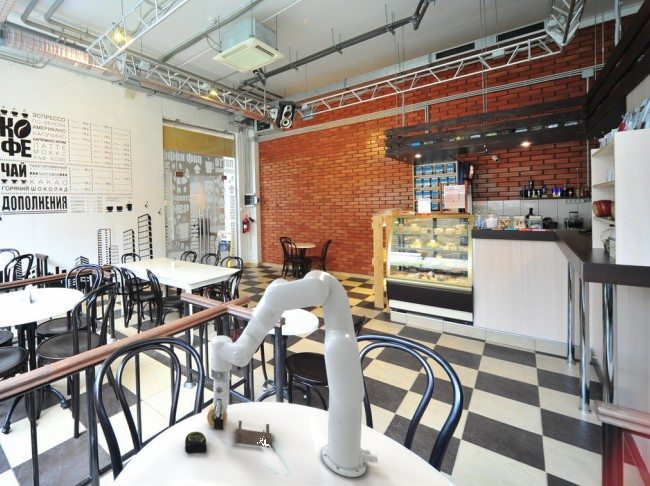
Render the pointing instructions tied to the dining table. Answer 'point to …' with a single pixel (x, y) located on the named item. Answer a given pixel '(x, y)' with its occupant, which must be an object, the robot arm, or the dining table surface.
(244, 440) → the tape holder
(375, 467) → the dining table surface
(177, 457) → the dining table surface
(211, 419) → the tape roll
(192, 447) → the tape measure
